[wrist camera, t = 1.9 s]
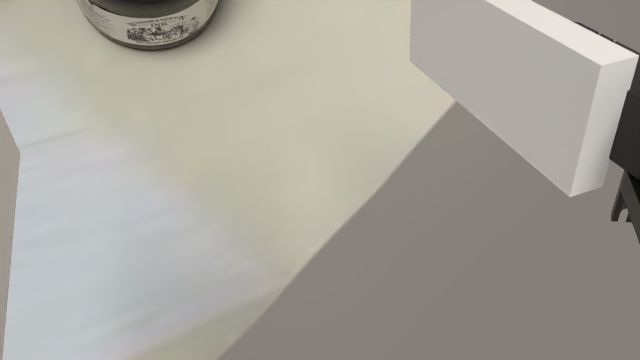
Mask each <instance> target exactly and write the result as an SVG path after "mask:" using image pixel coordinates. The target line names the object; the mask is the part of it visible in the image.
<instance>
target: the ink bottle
mask: <svg viewBox="0 0 640 360" xmlns="http://www.w3.org/2000/svg"><path fill="white" fill-rule="evenodd" d="M217 2H218V0H77V3H78V5H79V7H80V8H81V10H82V11H83V12H84V14H85V16H86V17H87V19H88V20H89V21H90V23H91V24H92V25H93V26H94V27H95V28H96V29H97V30H98V31H99V32H100V33H102V34H103V35H104V36H106V37H107V38H109V39H111V40H113V41H115V42H117V43H119V44H122V45H125V46H128V47H132V48H138V49H164V48H169V47H173V46H176V45H179V44H182V43H184V42H186V41H188V40H190V39H192V38H193V37H195V36H196V35H197V34H199V33H200V32H201V31H202V30H203V29H204V28H205V27H206V25H207V24H208V23H209V21H210V20H211V18H212V16H213V14H214V12H215V9H216V6H217Z"/></svg>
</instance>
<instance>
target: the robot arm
mask: <svg viewBox="0 0 640 360" xmlns="http://www.w3.org/2000/svg"><path fill="white" fill-rule="evenodd" d="M410 62H412V63H413V64H414V65H415V66H416V67H418V68H419V69H420V70H421V71H422V72H423V73H425V74H426V75H427V76H428V77H429V78H430V79H432V80H433V81H434V82H435V83H436V84H438V85H439V86H440V87H441V88H442V89H443V90H445V91H446V92H447V93H448V94H449V95H450V96H452V97H453V98H454V99H455V100H456V101H457V102H459V103H460V104H461V105H462V106H463V107H465V108H466V109H467V110H468V111H469V112H470V113H472V114H473V115H474V116H475V117H476V118H477V119H479V120H480V121H481V122H482V123H483V124H485V125H486V126H487V127H488V128H489V129H491V130H492V131H493V132H494V133H495V134H496V135H497V136H499V137H500V138H501V139H502V140H503V141H505V142H506V143H507V144H508V145H509V146H511V147H512V148H513V149H514V150H515V151H516V152H517V153H519V154H520V155H521V156H522V157H523V158H524V159H526V160H527V161H528V162H529V163H530V164H532V165H533V166H534V167H535V168H536V169H537V170H539V171H540V172H541V173H542V174H543V175H545V176H546V177H547V178H548V179H549V180H550V181H552V182H553V183H554V184H555V185H556V186H557V187H559V188H560V189H561V190H562V191H563V192H565V193H566V194H567V195H568V196H569V197H571V196H574V195H577V194H580V193H583V192H587V191H590V190H593V189H596V188H599V187H602V186H603V183H604V179H605V176H606V172H607V169H608V165H609V161H610V160H612V161H613V162H615V163H616V164H617V165H619V166H620V167H622V168H623V169H624V173H623V176H622V179H621V183H620V186H619V190H618V193H617V196H616V199H615V203H614V206H613V209H612V213H611V221H618V218H619V215H620V212H621V211H622V210H623V209H625V208H627V209H628V212H629V213H628V216H627V219H626V222H632V224H633V226H634V229H635V232H636V234H637V237H638V240H639V243H640V53H638V52H637V51H635V50H633V49H631V48H629V47H627V46H625V45H623V44H621V43H619V42H613V39H611V38H609V37H607V36H604V35H603V34H601V35H599V34H598V32H597V31H595V30H593V29H591V28H589V27H587V26H585V25H583V24H581V23H578V22H574V21H570V20H568V19H566V18H564V17H562V16H560V15H558V14H556V13H554V12H552V11H550V10H548V9H546V8H544V7H542V6H540V5H538V4H537V3H535V2H533V1H531V0H411V29H410ZM19 160H20V152H19V149H18V147H17V145H16V143H15V141H14V139H13V136H12V134H11V132H10V130H9V128H8V125H7V123H6V121H5V119H4V117H3V115H2V112H1V110H0V360H2V356H3V345H4V333H5V322H6V310H7V298H8V287H9V275H10V264H11V252H12V241H13V229H14V218H15V206H16V195H17V183H18V171H19Z"/></svg>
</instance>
